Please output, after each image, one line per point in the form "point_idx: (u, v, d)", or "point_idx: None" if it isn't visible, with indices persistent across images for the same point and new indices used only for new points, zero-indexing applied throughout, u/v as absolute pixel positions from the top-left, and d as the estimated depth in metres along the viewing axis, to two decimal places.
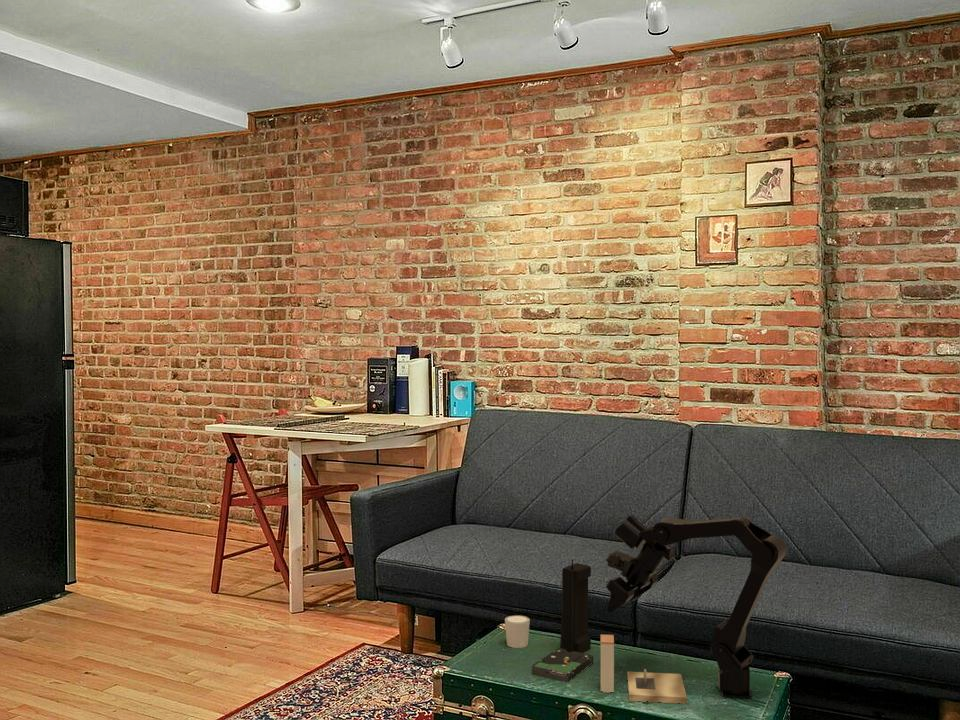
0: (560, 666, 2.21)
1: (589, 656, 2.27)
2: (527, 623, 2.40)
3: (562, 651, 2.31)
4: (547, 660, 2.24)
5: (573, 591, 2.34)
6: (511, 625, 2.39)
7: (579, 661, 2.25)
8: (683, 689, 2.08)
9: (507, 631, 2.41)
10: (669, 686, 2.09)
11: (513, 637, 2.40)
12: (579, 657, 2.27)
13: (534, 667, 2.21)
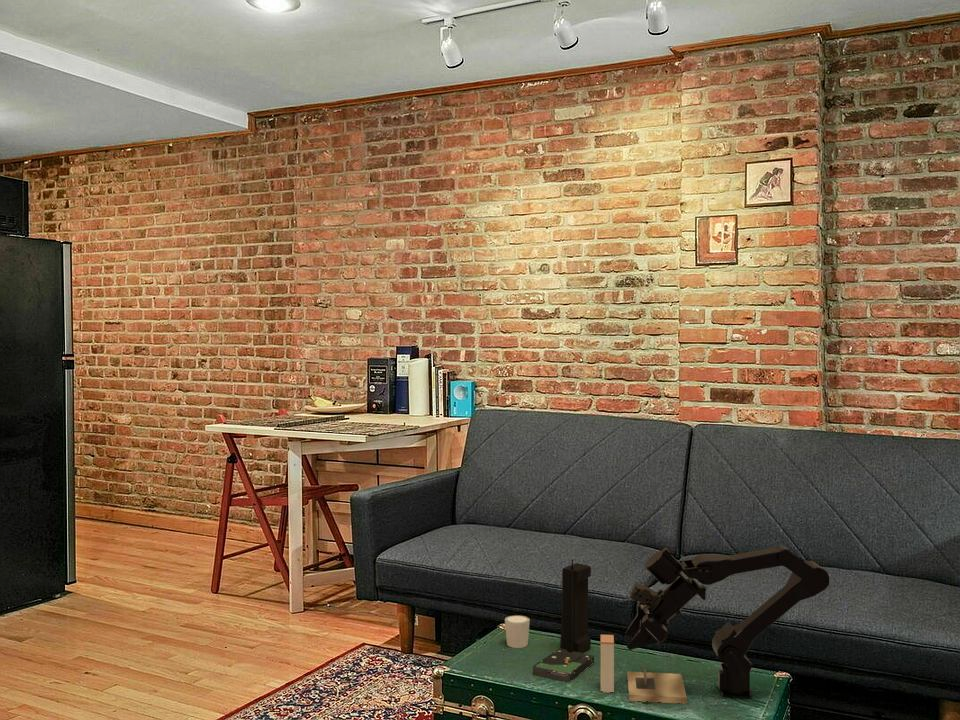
0: (561, 666, 2.21)
1: (590, 656, 2.27)
2: (527, 623, 2.40)
3: (562, 651, 2.31)
4: (548, 661, 2.24)
5: (573, 591, 2.34)
6: (511, 625, 2.39)
7: (580, 661, 2.25)
8: (683, 689, 2.08)
9: (507, 631, 2.41)
10: (669, 686, 2.09)
11: (513, 637, 2.40)
12: (580, 657, 2.27)
13: (535, 667, 2.21)
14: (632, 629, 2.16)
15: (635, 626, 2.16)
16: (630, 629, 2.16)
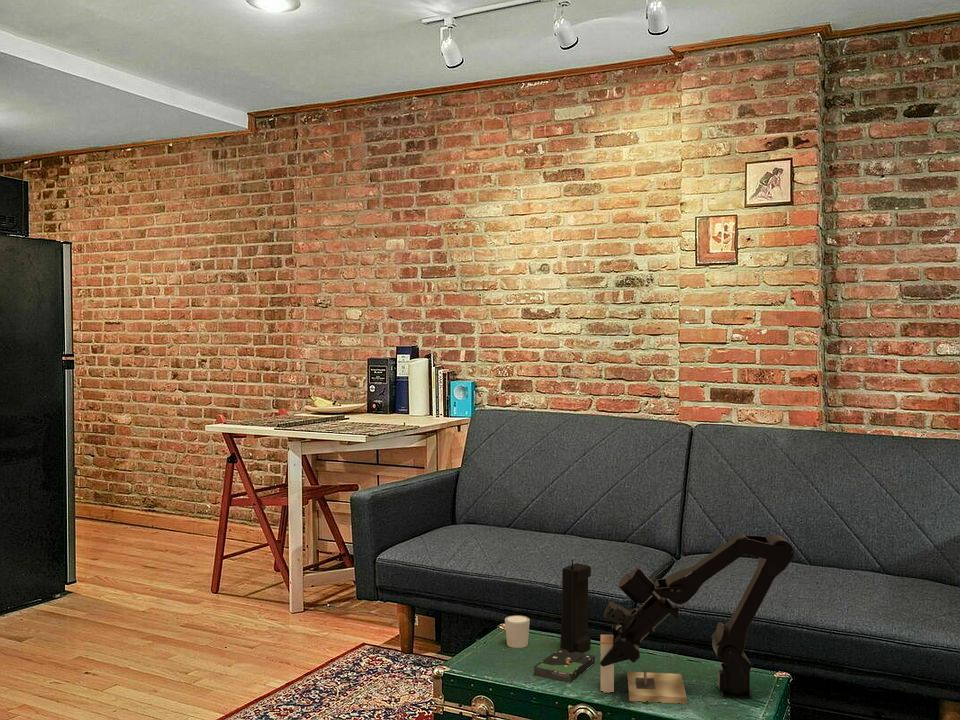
0: (562, 666, 2.21)
1: (591, 656, 2.27)
2: (527, 623, 2.40)
3: (563, 652, 2.31)
4: (549, 661, 2.24)
5: (573, 591, 2.34)
6: (511, 625, 2.39)
7: (581, 661, 2.24)
8: (683, 689, 2.08)
9: (507, 631, 2.41)
10: (669, 686, 2.09)
11: (513, 637, 2.40)
12: (581, 657, 2.27)
13: (536, 668, 2.20)
14: None
15: None
16: None
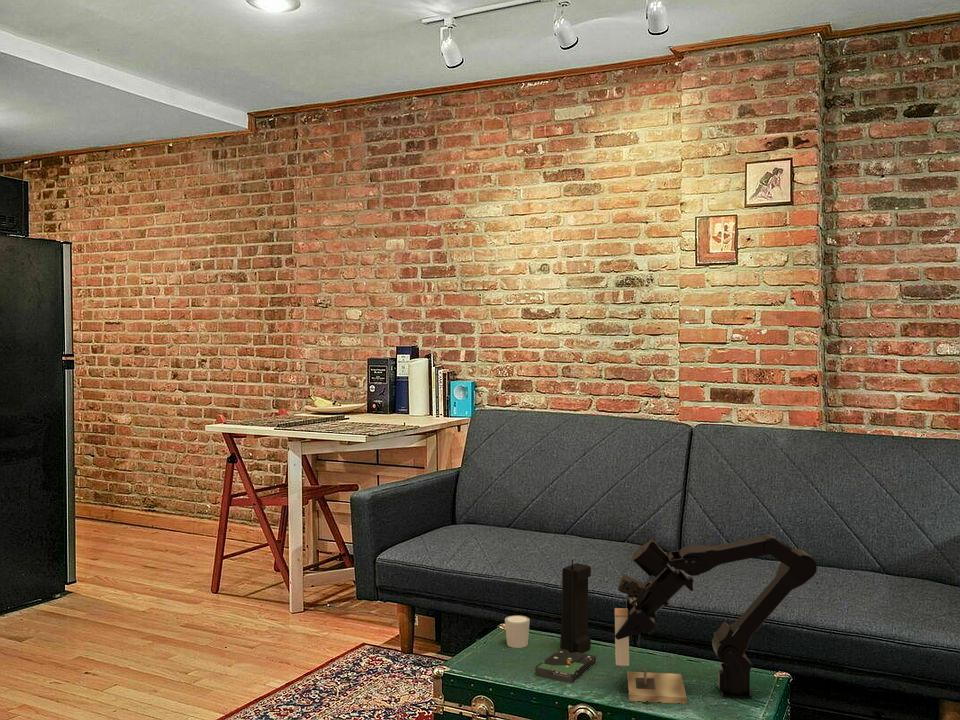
0: (563, 666, 2.20)
1: (592, 657, 2.27)
2: (527, 623, 2.40)
3: (564, 652, 2.30)
4: (550, 661, 2.24)
5: (573, 591, 2.34)
6: (511, 625, 2.39)
7: (582, 662, 2.24)
8: (683, 689, 2.08)
9: (507, 631, 2.41)
10: (669, 686, 2.09)
11: (513, 637, 2.40)
12: (582, 658, 2.27)
13: (537, 668, 2.20)
14: None
15: None
16: None
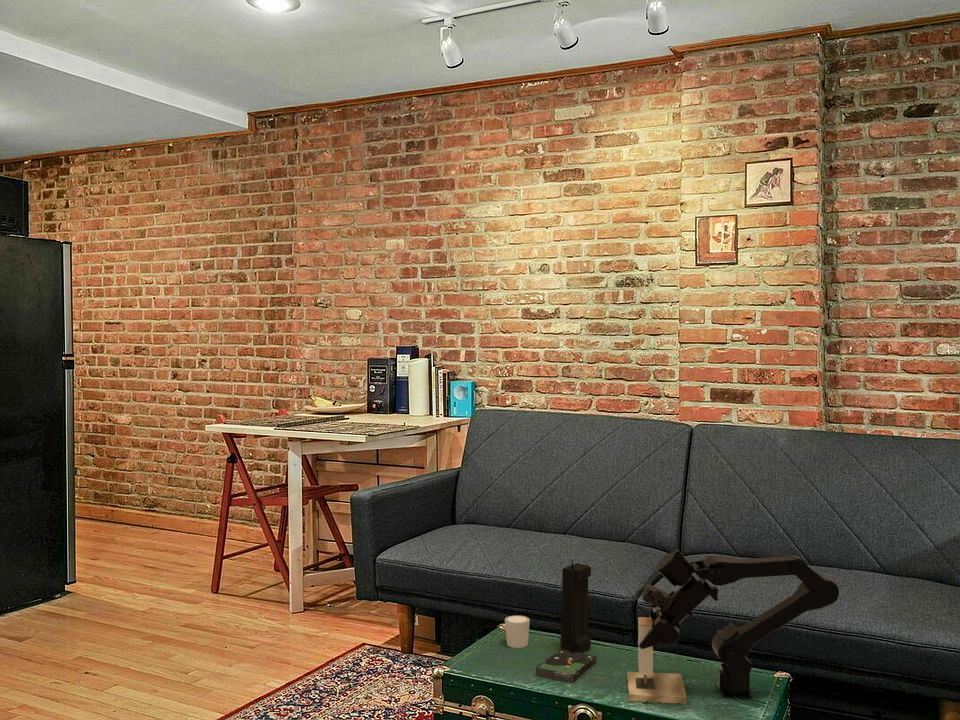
0: (564, 667, 2.20)
1: (592, 657, 2.27)
2: (527, 623, 2.40)
3: (565, 652, 2.30)
4: (551, 662, 2.24)
5: (573, 591, 2.34)
6: (511, 625, 2.39)
7: (583, 662, 2.24)
8: (683, 689, 2.08)
9: (507, 631, 2.41)
10: (669, 686, 2.09)
11: (513, 637, 2.40)
12: (582, 658, 2.27)
13: (538, 668, 2.20)
14: None
15: None
16: None
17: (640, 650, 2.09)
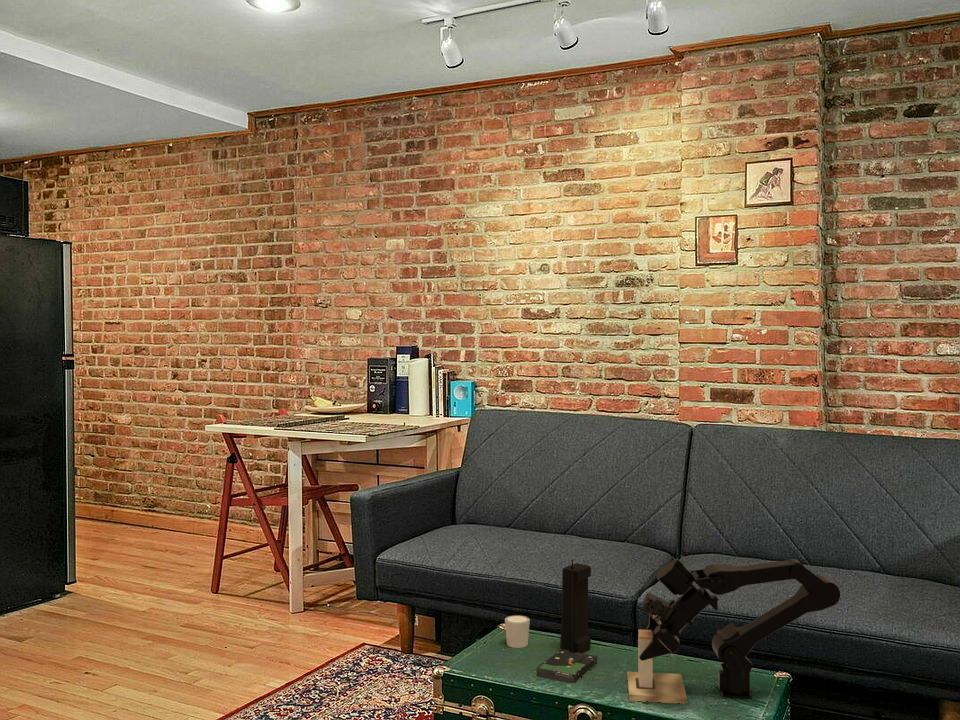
0: (565, 667, 2.20)
1: (593, 657, 2.27)
2: (527, 623, 2.40)
3: (565, 652, 2.30)
4: (552, 662, 2.23)
5: (573, 591, 2.34)
6: (511, 625, 2.39)
7: (583, 662, 2.24)
8: (683, 689, 2.08)
9: (507, 631, 2.41)
10: (669, 686, 2.09)
11: (513, 637, 2.40)
12: (583, 658, 2.26)
13: (539, 669, 2.20)
14: None
15: None
16: None
17: (640, 662, 2.09)
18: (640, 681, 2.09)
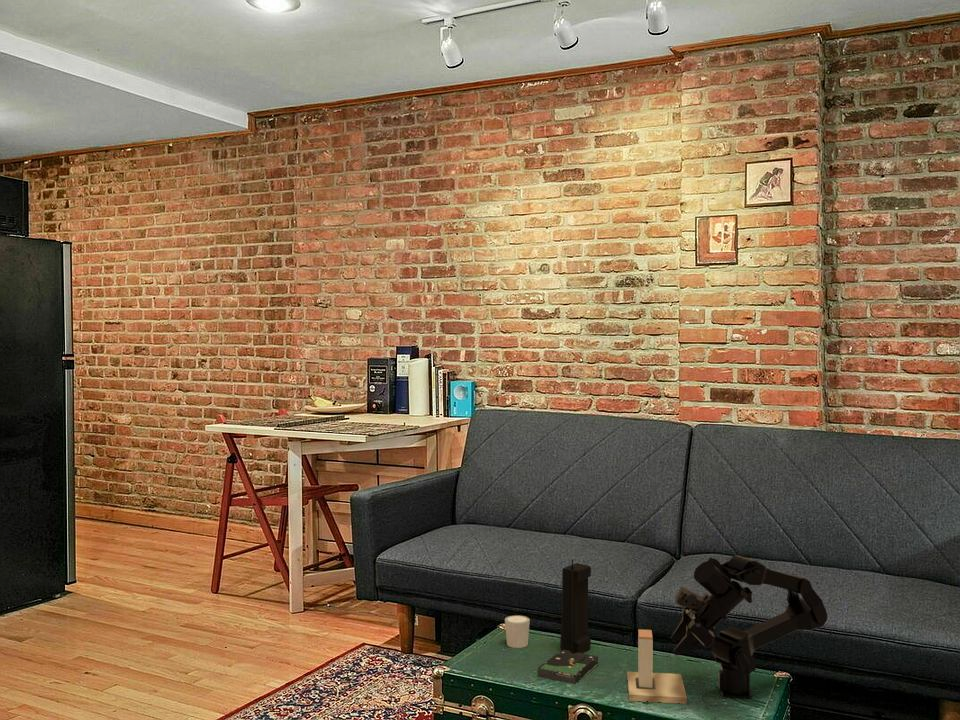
0: (566, 667, 2.20)
1: (594, 657, 2.27)
2: (527, 623, 2.40)
3: (566, 652, 2.30)
4: (553, 662, 2.23)
5: (573, 591, 2.34)
6: (511, 625, 2.39)
7: (584, 662, 2.24)
8: (683, 689, 2.08)
9: (507, 631, 2.41)
10: (669, 686, 2.09)
11: (513, 637, 2.40)
12: (584, 658, 2.26)
13: (540, 669, 2.19)
14: (677, 634, 2.15)
15: (680, 631, 2.15)
16: (675, 634, 2.15)
17: (640, 662, 2.09)
18: (640, 681, 2.09)
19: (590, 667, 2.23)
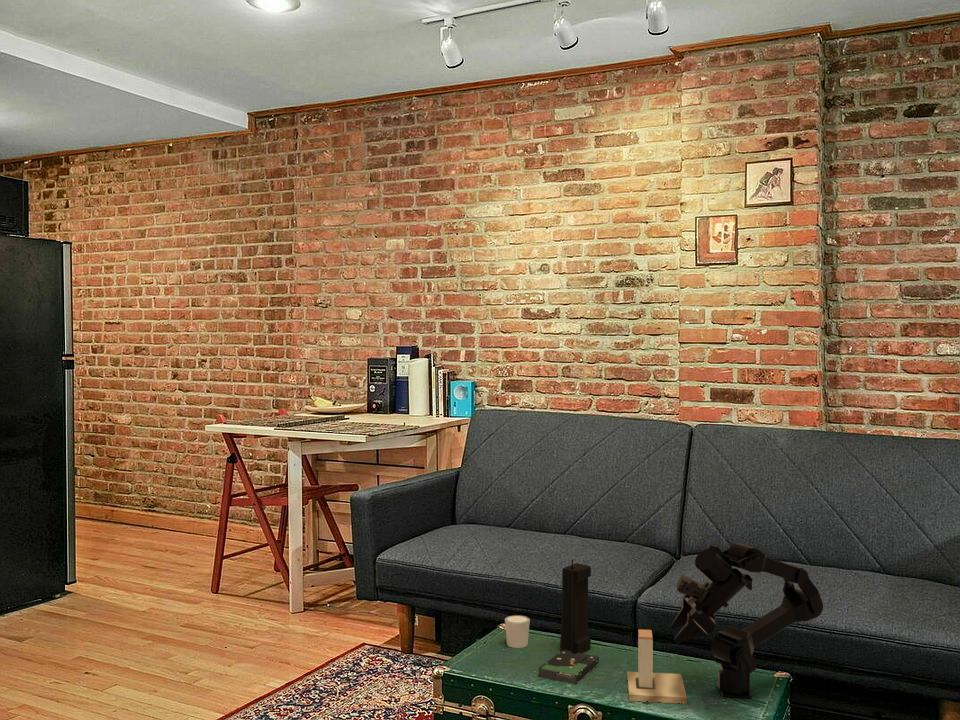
0: (567, 667, 2.20)
1: (595, 657, 2.27)
2: (527, 623, 2.40)
3: (567, 653, 2.30)
4: (554, 662, 2.23)
5: (573, 591, 2.34)
6: (511, 625, 2.39)
7: (585, 662, 2.24)
8: (683, 689, 2.08)
9: (507, 631, 2.41)
10: (669, 686, 2.09)
11: (513, 637, 2.40)
12: (585, 658, 2.26)
13: (541, 669, 2.19)
14: (677, 622, 2.14)
15: (680, 619, 2.14)
16: (675, 622, 2.14)
17: (640, 662, 2.09)
18: (640, 681, 2.09)
19: (591, 667, 2.23)
